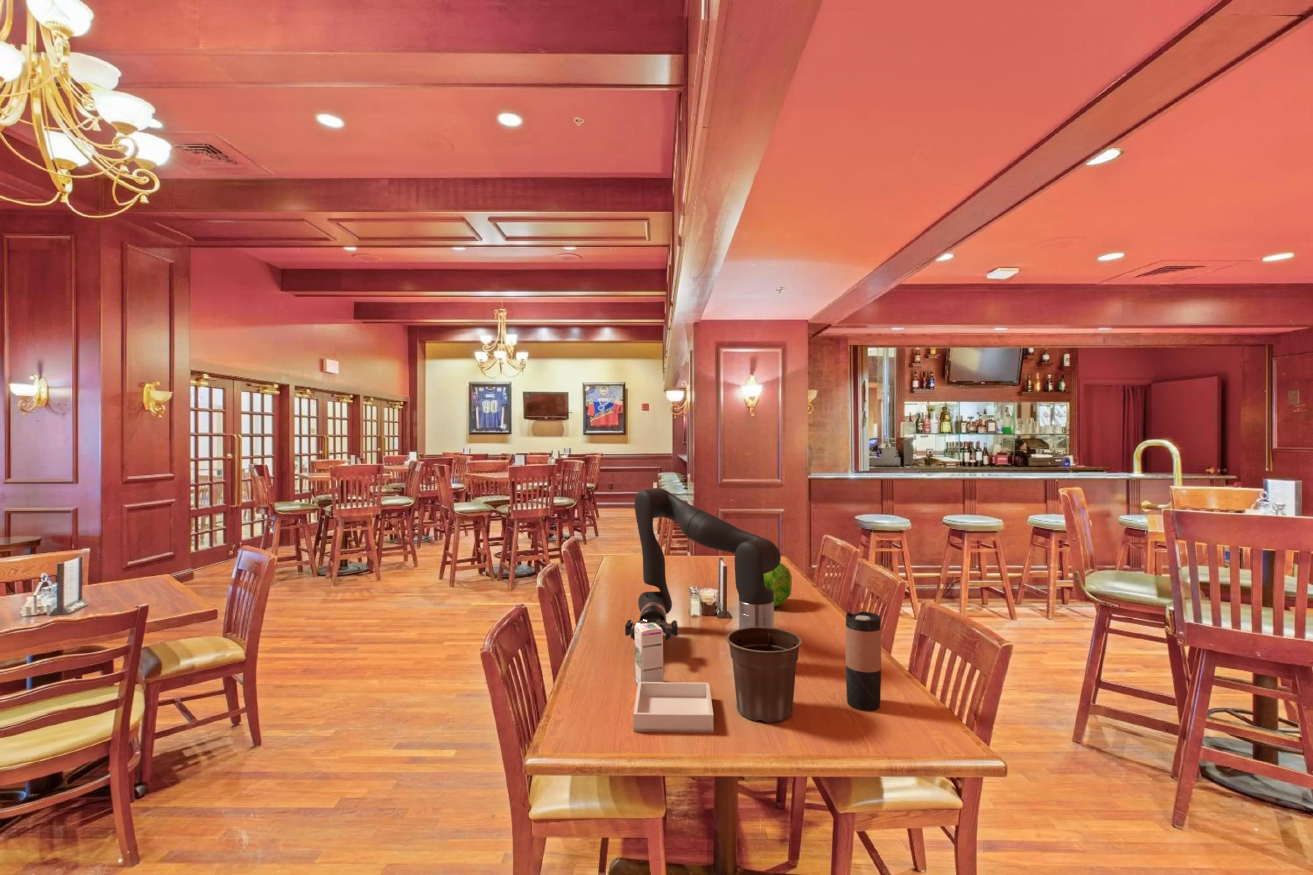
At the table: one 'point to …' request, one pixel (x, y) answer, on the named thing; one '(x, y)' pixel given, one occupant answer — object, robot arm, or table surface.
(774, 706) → the plant pot
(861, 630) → the travel mug
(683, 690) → the tray
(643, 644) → the syrup box
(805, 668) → the table surface
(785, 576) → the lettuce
